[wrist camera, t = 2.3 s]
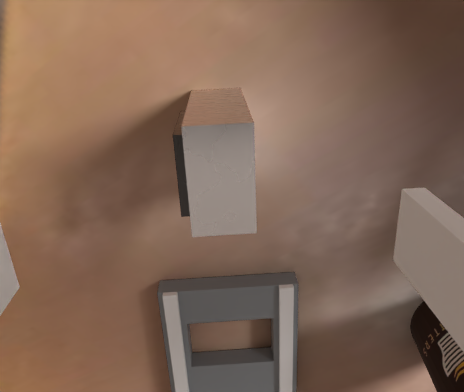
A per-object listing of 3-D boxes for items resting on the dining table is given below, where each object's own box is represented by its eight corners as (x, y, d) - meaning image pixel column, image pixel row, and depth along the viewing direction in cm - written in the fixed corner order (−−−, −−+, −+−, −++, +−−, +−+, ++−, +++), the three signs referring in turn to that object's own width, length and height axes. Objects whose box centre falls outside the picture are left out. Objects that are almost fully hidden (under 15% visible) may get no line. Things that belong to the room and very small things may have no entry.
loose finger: (243, 168, 28) (257, 233, 19) (190, 170, 27) (181, 237, 19) (240, 87, 25) (254, 122, 17) (183, 90, 25) (169, 127, 17)
